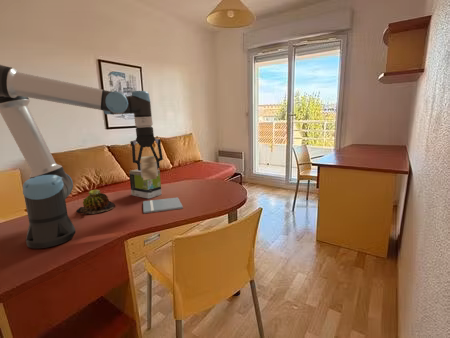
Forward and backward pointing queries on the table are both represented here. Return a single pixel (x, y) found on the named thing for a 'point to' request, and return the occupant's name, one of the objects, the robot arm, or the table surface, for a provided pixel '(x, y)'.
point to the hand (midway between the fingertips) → (149, 176)
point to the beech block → (148, 167)
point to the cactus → (95, 203)
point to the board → (161, 205)
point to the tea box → (144, 185)
